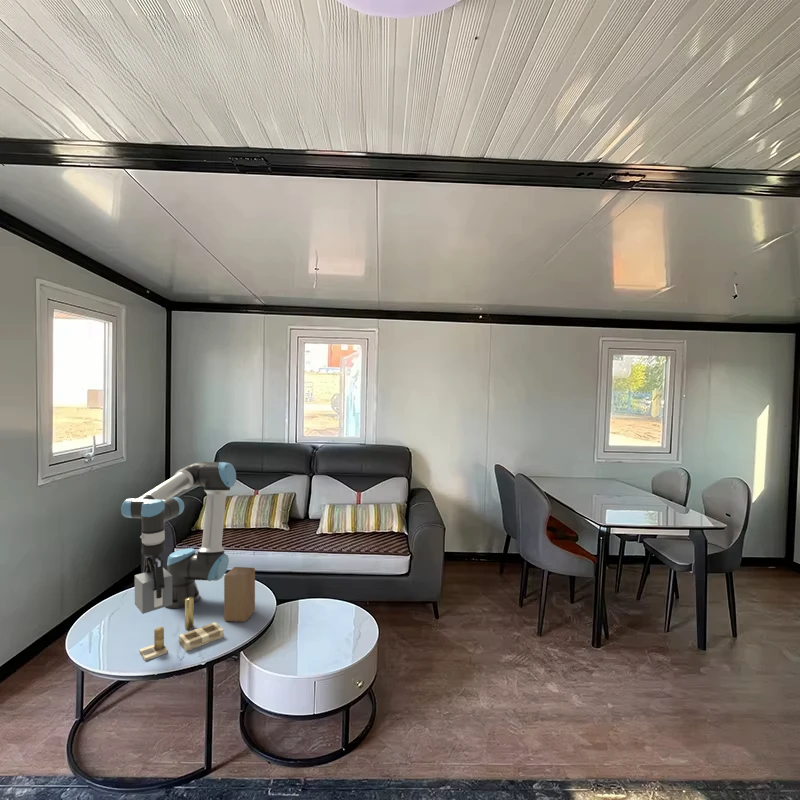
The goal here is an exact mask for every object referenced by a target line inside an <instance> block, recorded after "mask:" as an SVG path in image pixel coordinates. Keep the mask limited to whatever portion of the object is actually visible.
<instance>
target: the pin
mask: <svg viewBox="0 0 800 800" xmlns="http://www.w3.org/2000/svg"><path fill="white" fill-rule="evenodd" d="M194 604H195V603H194V598H193V597H188V598H186V599H185V607H184V629H185V630H193V628H194V625H195V624H194V623H195V622H194V620H195V618H194V613H195V612H194V609H195V608H194Z"/></svg>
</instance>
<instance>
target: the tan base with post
mask: <svg viewBox="0 0 800 800" xmlns="http://www.w3.org/2000/svg"><path fill="white" fill-rule="evenodd" d="M153 631H154V632H153V633H154V637H153V639H154V641H153V644H151V645H148V646H145V647H142V648H140V649H139V650H138V652H139V655H141V657H142V658H143V660H144V661H145V662H146V661H147V662H148V660H152V659H154V658H157V657H159V656H162V655H165V654H168V653H169V650H168V648H167V647H166V645H165V628H164V627H163V626H159V627H157V628H155V629H154V630H153Z"/></svg>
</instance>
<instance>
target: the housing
mask: <svg viewBox="0 0 800 800" xmlns="http://www.w3.org/2000/svg"><path fill="white" fill-rule="evenodd" d="M163 574H164V585H165V588H162V595H163V605H161V606H158V607H155V608H154V591H153V589H154V588H155V587H154V580H153V574H152V572H149V573H146V572H145V573H143V572H141V573H138V574H135V575H134V606H135V607H136V608H137V609H138V610H139V611H140V612H141V614H142V615H143V614H147V613H150V612H154V611H156V610H160V609H162V608H167V607H166V606H169V605H172V575H171V574H170V573H169V572H168V571H167V569H165V568H164V567H163ZM159 586H160V585H159Z"/></svg>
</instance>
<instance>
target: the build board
mask: <svg viewBox="0 0 800 800" xmlns="http://www.w3.org/2000/svg"><path fill="white" fill-rule="evenodd" d="M222 638H224V628H222V627H221V625H219V624H218V623H217V622H216V621H214V622H212V623H209V624H207V625H202V626H200V627H198V628H196V629H195V628H194V629H191V630H189V631H187V632H184V633H181V634H179V635H178V644H179V645H181V647H182V648H183V649H184V650H185V652H189V651H191V650H194V649H197V648H198V647H199V648H200V647H201V645H202V646H204V645H207V644H209V643H211V642H215V641H216V640H219V639H222ZM193 648H194V649H193ZM188 650H189V651H188Z"/></svg>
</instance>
